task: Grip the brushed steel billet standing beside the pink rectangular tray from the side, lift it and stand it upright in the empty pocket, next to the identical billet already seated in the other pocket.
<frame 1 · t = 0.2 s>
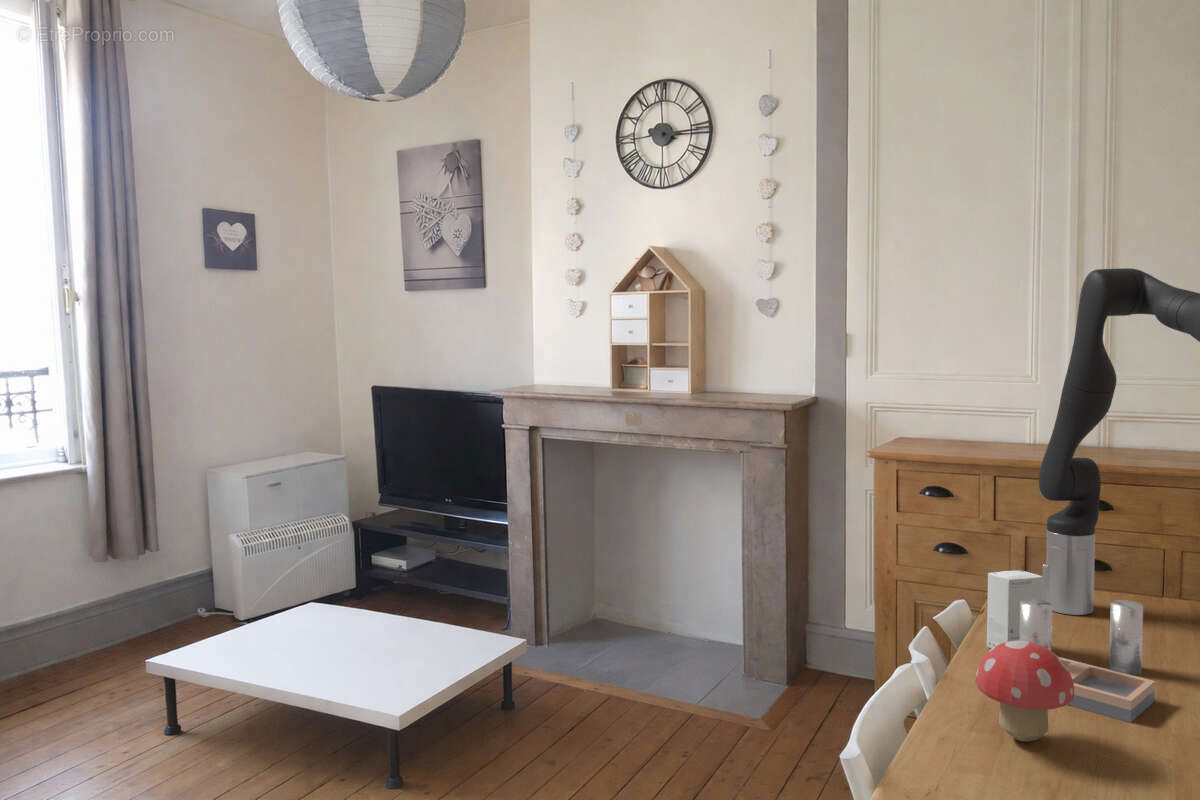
decorative mushroom: (1023, 741, 132), on the table
billet: (1125, 669, 157), on the table
seated billet: (1035, 670, 152), resting on pink rectangular tray
skincare box: (1013, 650, 168), on the table
pink rectangular tray: (1069, 691, 148), on the table
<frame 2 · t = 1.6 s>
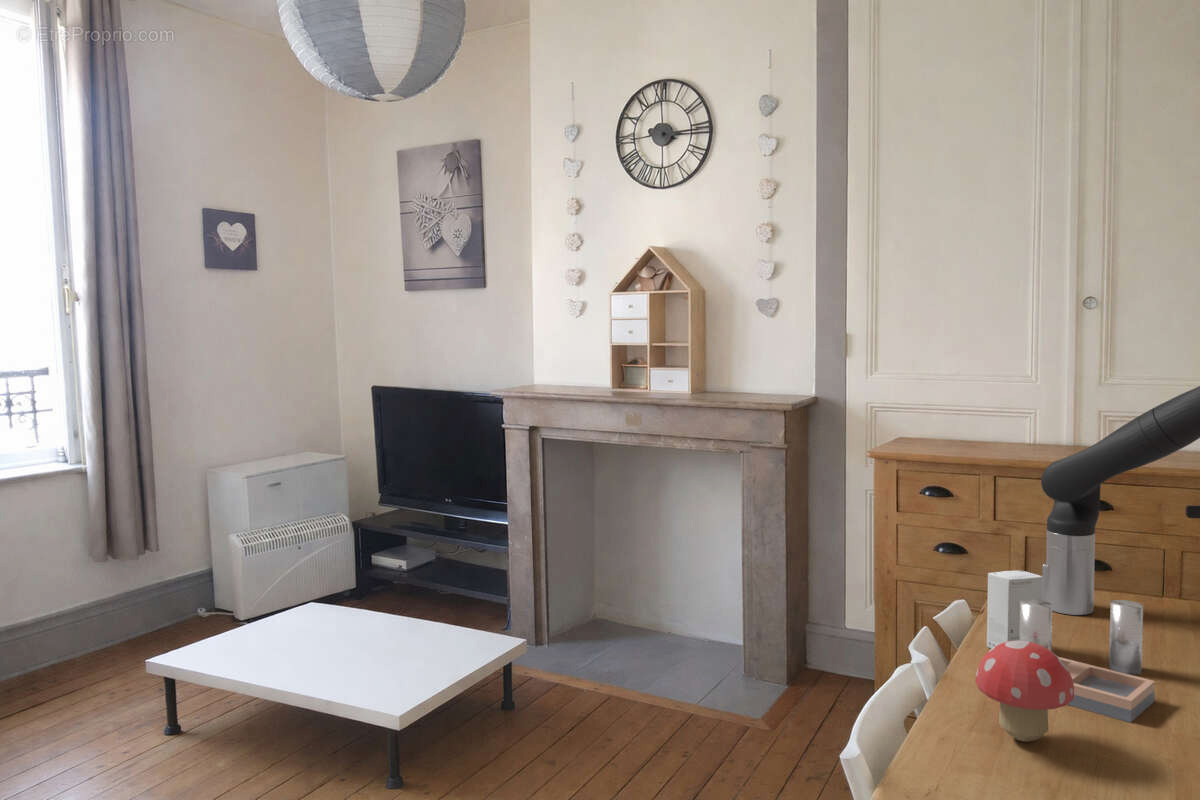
hand: (1196, 516, 152), 28 cm above the table, tool horizontal, fingers open, 8 cm apart
nothing on the table moved.
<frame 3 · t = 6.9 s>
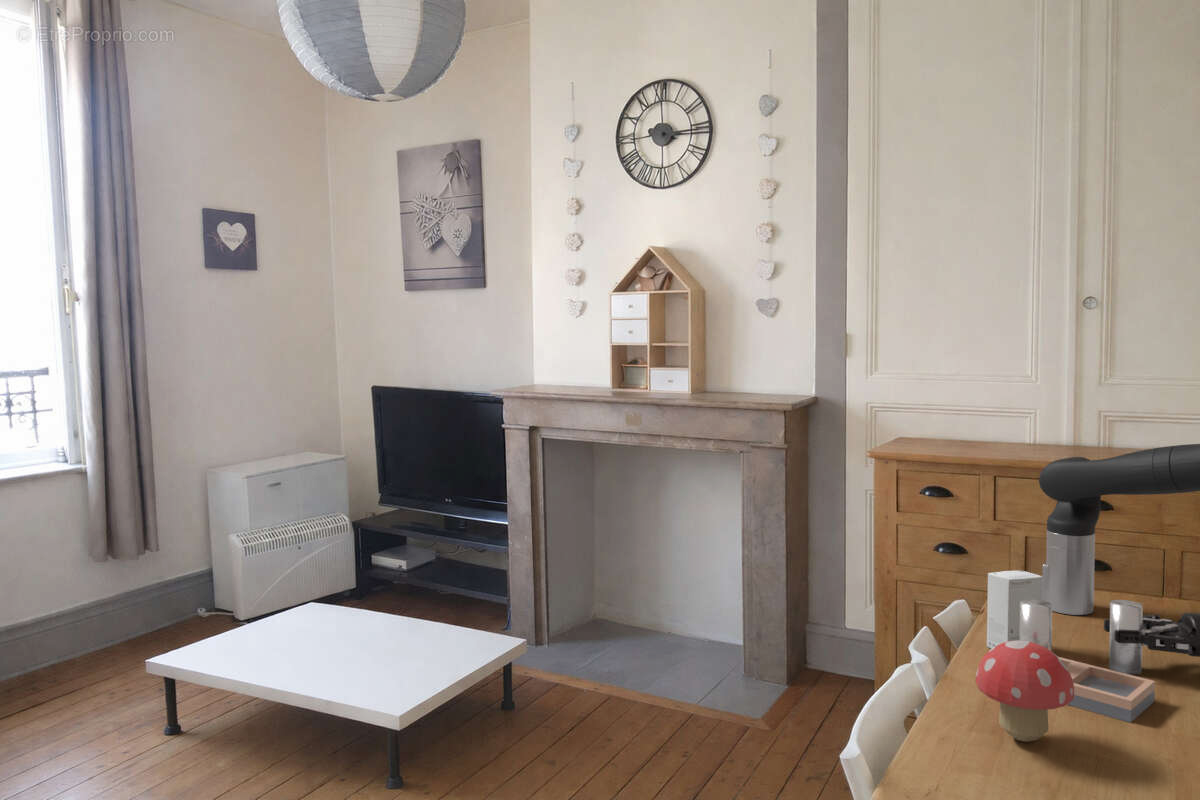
hand: (1110, 630, 157), 7 cm above the table, tool horizontal, fingers closed on billet, 5 cm apart
billet: (1125, 669, 157), on the table, touching gripper
everything else where it was.
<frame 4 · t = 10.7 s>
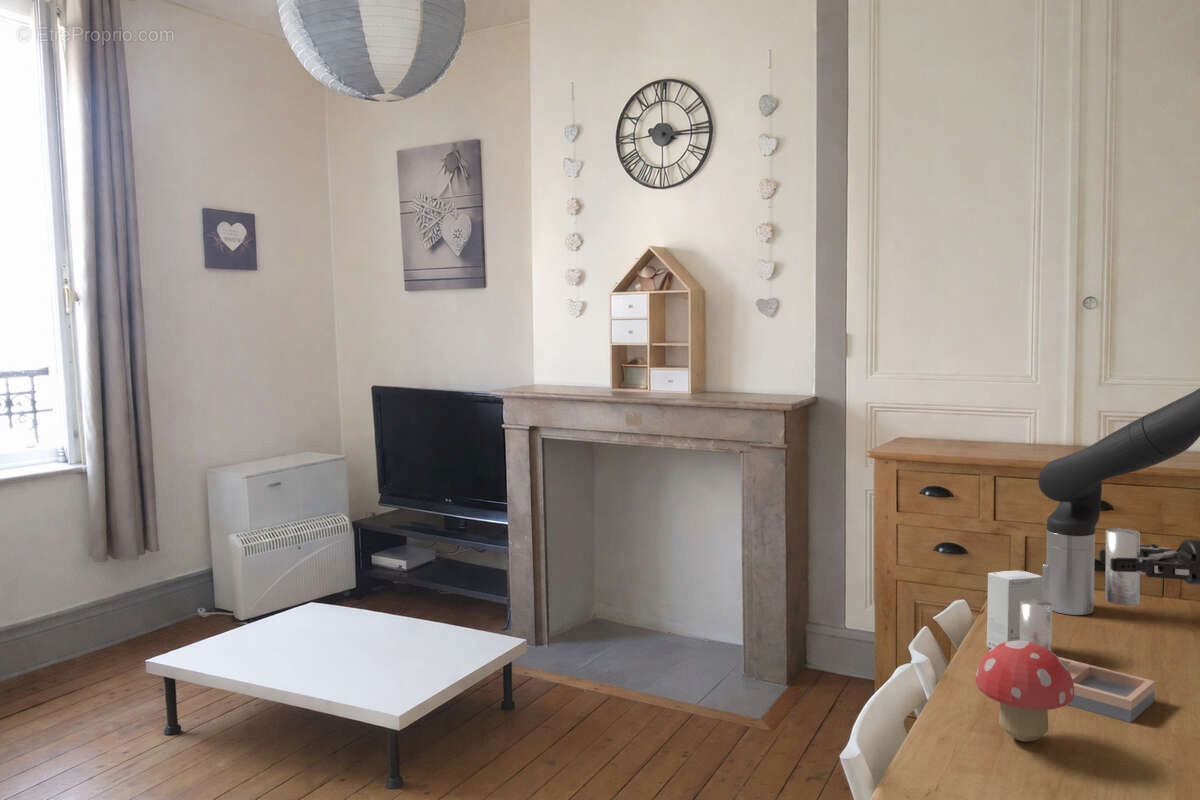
hand: (1106, 560, 149), 22 cm above the table, tool horizontal, fingers closed on billet, 5 cm apart
billet: (1122, 600, 149), point 15 cm above the table, touching gripper
everything else where it was.
when the fingers open (10 cm above the table, at t = 14.3 s): billet stays where it is, resting on pink rectangular tray.
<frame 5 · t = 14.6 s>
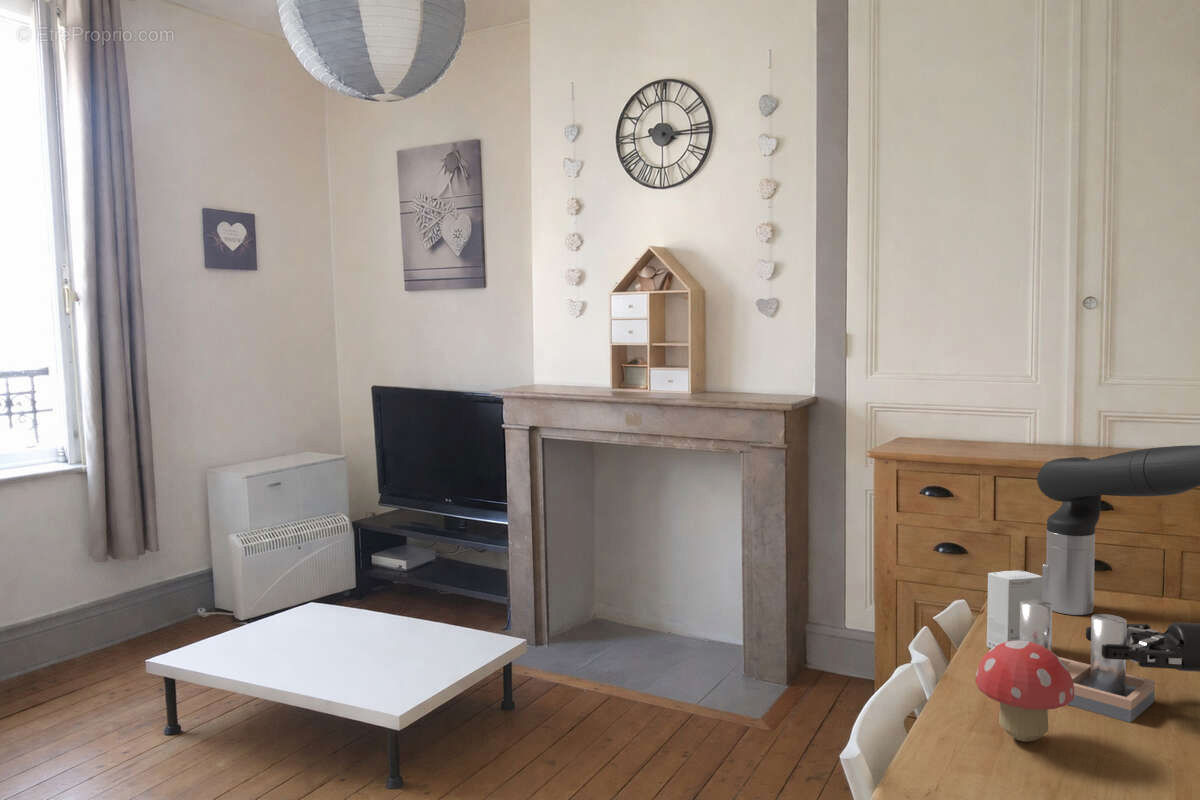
hand: (1094, 642, 143), 10 cm above the table, tool horizontal, fingers open, 7 cm apart
billet: (1107, 690, 144), point 2 cm above the table, touching pink rectangular tray
everything else where it was.
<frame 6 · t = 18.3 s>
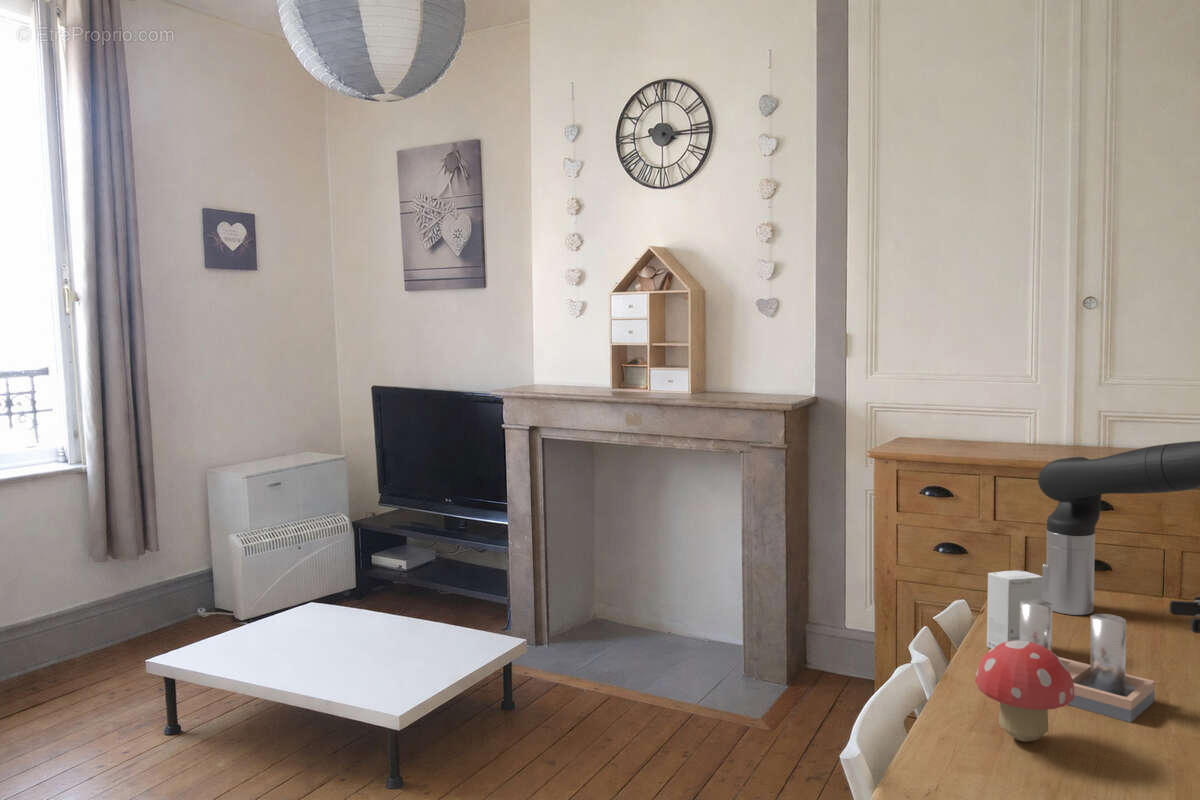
hand: (1180, 616, 143), 14 cm above the table, tool horizontal, fingers open, 8 cm apart
nothing on the table moved.
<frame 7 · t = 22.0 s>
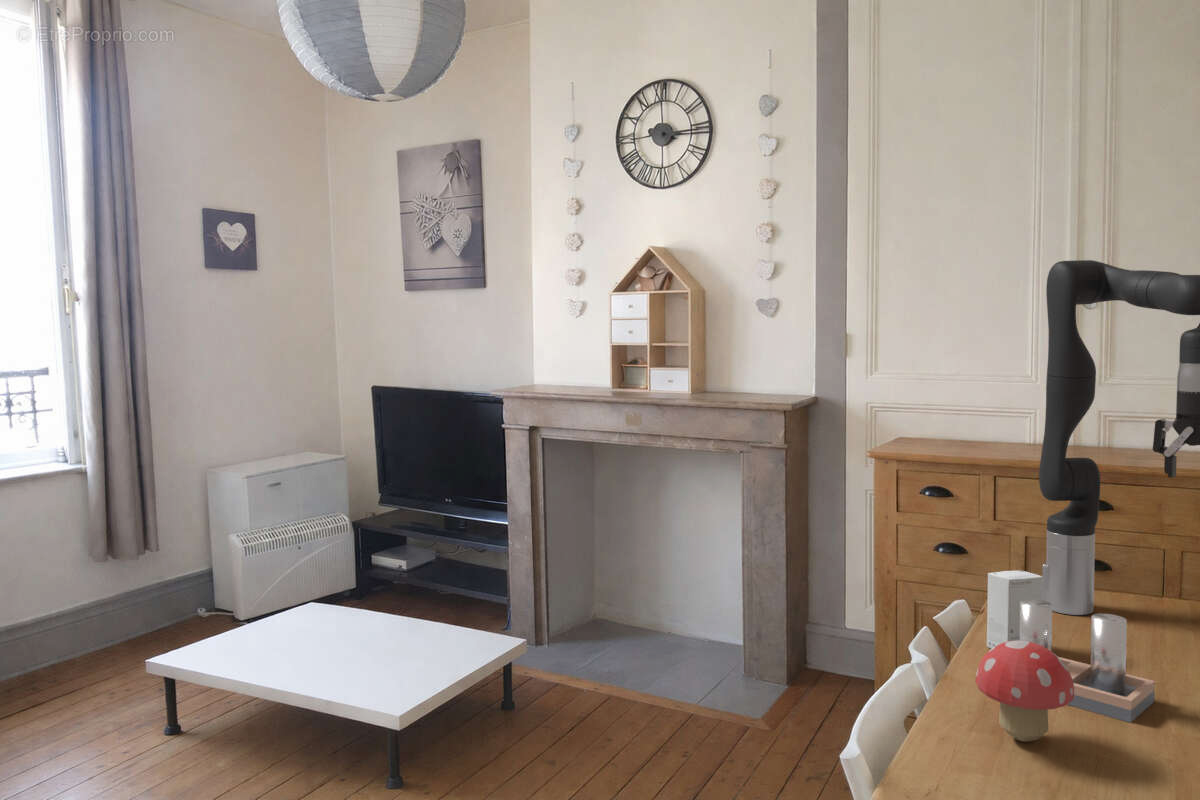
hand: (1199, 479, 155), 34 cm above the table, tool pointing down, fingers open, 8 cm apart
nothing on the table moved.
at the end: billet 0.1 cm from the target spot on the pink rectangular tray, point 2.1 cm above the pink rectangular tray's base; billet tilted 2°; the gripper is holding nothing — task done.
